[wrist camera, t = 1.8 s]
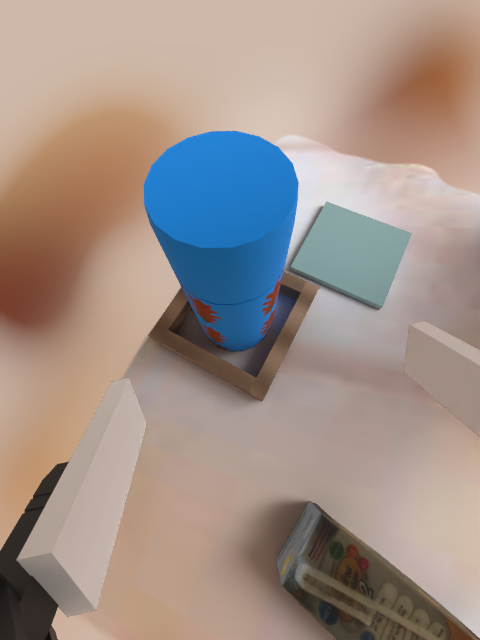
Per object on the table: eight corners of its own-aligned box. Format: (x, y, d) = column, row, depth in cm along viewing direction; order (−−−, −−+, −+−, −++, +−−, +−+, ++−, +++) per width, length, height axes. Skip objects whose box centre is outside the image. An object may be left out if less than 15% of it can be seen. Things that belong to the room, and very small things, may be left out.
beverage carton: (309, 494, 33) (323, 510, 27) (465, 622, 29) (524, 676, 23) (272, 558, 31) (278, 592, 25) (434, 707, 27) (491, 793, 20)
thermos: (248, 366, 39) (247, 280, 15) (188, 330, 41) (107, 208, 18) (284, 306, 42) (327, 160, 19) (226, 276, 44) (199, 111, 21)
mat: (324, 205, 49) (326, 201, 48) (408, 237, 46) (411, 233, 45) (289, 269, 44) (290, 266, 43) (379, 309, 41) (382, 306, 40)
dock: (216, 251, 46) (213, 240, 43) (314, 296, 42) (319, 287, 40) (155, 341, 41) (148, 335, 38) (262, 401, 37) (263, 399, 34)
